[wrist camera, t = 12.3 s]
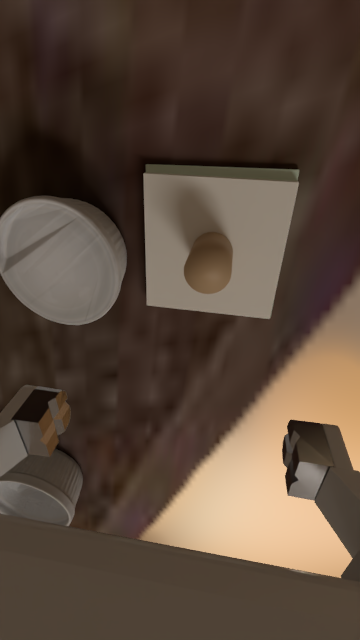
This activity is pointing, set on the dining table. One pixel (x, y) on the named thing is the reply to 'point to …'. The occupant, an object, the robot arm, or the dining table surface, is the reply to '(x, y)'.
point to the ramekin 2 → (42, 488)
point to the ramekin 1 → (62, 258)
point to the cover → (215, 241)
